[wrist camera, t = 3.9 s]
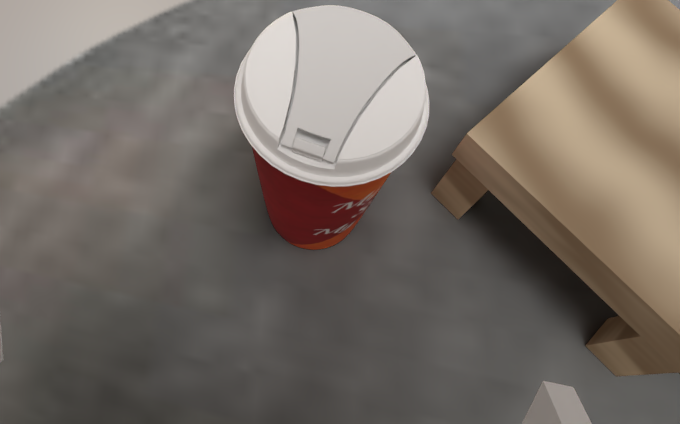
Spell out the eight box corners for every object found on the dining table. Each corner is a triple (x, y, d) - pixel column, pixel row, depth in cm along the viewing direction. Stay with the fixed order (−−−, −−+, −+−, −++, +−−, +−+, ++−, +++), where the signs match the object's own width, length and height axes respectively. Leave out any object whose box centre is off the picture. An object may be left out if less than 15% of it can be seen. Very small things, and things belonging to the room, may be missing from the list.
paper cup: (352, 285, 31) (407, 202, 18) (231, 242, 31) (195, 128, 18) (389, 172, 34) (460, 28, 20) (277, 133, 34) (277, -36, 21)
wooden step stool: (570, 60, 38) (641, -21, 31) (748, 215, 36) (873, 166, 28) (424, 192, 33) (466, 133, 26) (617, 383, 31) (727, 379, 23)
